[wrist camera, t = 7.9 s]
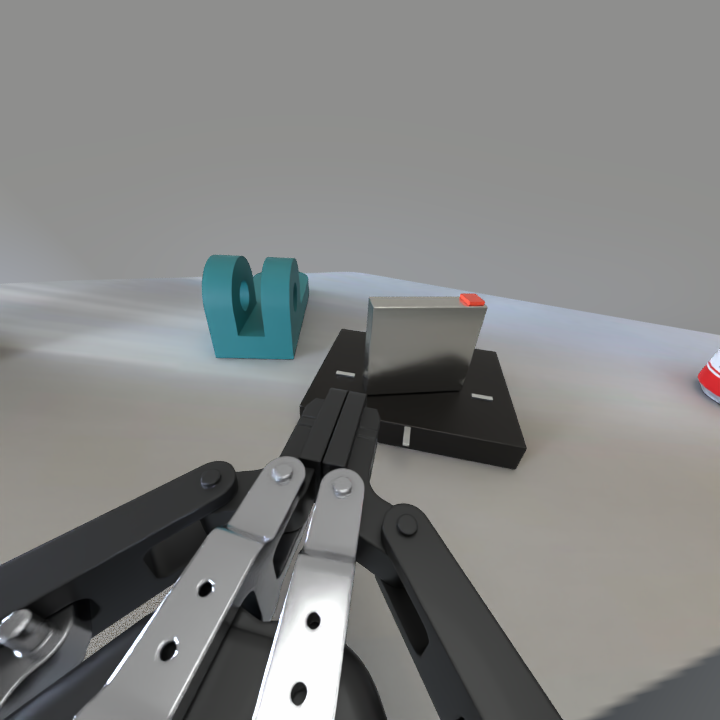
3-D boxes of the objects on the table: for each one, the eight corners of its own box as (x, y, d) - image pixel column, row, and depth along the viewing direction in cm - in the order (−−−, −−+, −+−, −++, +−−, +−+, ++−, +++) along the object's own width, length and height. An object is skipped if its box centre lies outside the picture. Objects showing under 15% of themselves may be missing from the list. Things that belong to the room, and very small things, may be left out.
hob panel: (291, 445, 19) (289, 421, 18) (341, 346, 30) (341, 326, 29) (521, 493, 18) (536, 469, 16) (489, 369, 28) (496, 350, 27)
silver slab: (365, 395, 21) (373, 303, 17) (362, 381, 22) (368, 292, 18) (461, 390, 22) (489, 302, 18) (453, 376, 23) (477, 292, 19)
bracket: (293, 359, 27) (286, 272, 23) (216, 357, 27) (194, 268, 23) (310, 286, 42) (308, 225, 38) (261, 284, 42) (253, 223, 37)
